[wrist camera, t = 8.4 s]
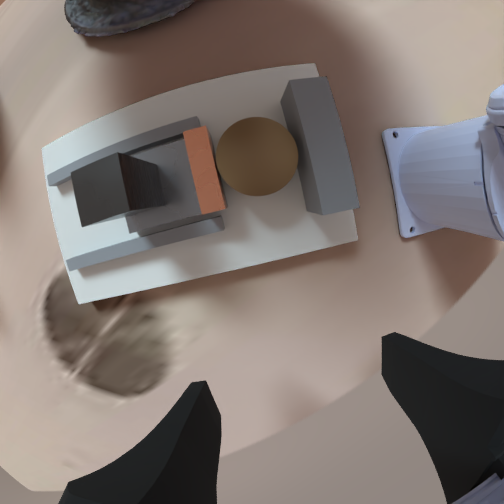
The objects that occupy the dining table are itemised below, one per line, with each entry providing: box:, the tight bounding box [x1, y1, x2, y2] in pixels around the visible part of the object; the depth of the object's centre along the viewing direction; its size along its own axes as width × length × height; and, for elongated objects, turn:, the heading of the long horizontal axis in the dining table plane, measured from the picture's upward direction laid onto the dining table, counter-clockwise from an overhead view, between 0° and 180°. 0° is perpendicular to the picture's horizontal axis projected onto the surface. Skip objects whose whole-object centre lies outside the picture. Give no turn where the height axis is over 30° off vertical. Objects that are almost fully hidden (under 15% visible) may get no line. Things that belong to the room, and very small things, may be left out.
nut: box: [216, 117, 298, 196], centre depth 14 cm, size 4×4×3 cm
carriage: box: [71, 125, 228, 234], centre depth 13 cm, size 6×4×6 cm
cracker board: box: [42, 63, 360, 304], centre depth 15 cm, size 20×12×5 cm, turn 103°
